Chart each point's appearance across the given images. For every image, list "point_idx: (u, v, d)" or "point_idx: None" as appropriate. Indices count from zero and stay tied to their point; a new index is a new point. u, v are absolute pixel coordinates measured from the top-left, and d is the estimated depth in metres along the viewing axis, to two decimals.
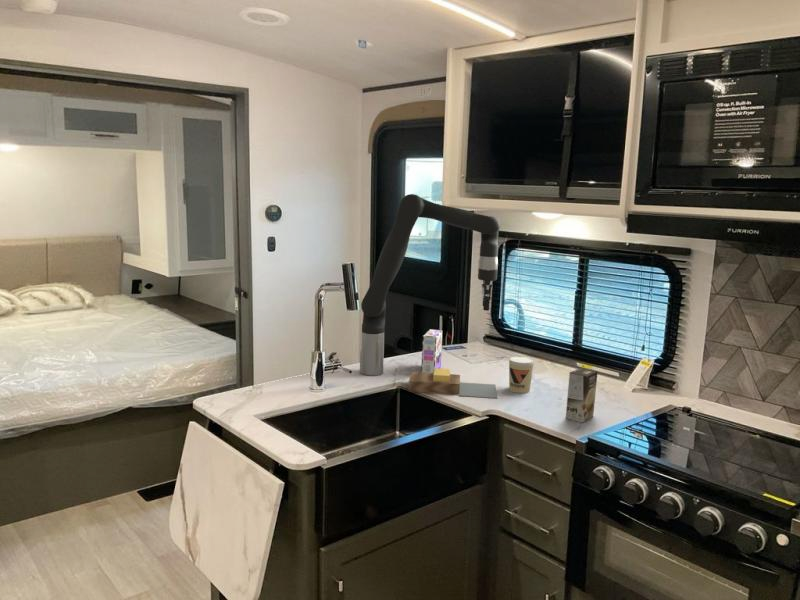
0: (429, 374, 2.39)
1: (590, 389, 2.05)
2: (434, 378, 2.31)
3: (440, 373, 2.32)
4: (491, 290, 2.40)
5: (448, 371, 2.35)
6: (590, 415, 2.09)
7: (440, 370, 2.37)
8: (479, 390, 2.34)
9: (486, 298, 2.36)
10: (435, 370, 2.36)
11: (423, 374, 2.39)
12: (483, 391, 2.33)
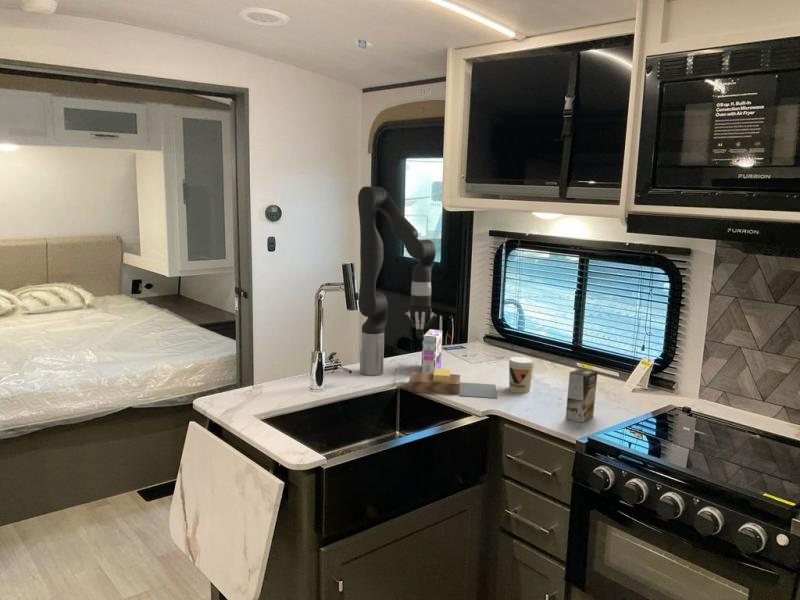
0: (429, 374, 2.39)
1: (590, 389, 2.05)
2: (434, 378, 2.31)
3: (440, 373, 2.32)
4: None
5: (448, 371, 2.35)
6: (590, 415, 2.09)
7: (440, 370, 2.37)
8: (479, 390, 2.34)
9: (427, 326, 2.32)
10: (435, 370, 2.36)
11: (423, 374, 2.39)
12: (483, 391, 2.33)
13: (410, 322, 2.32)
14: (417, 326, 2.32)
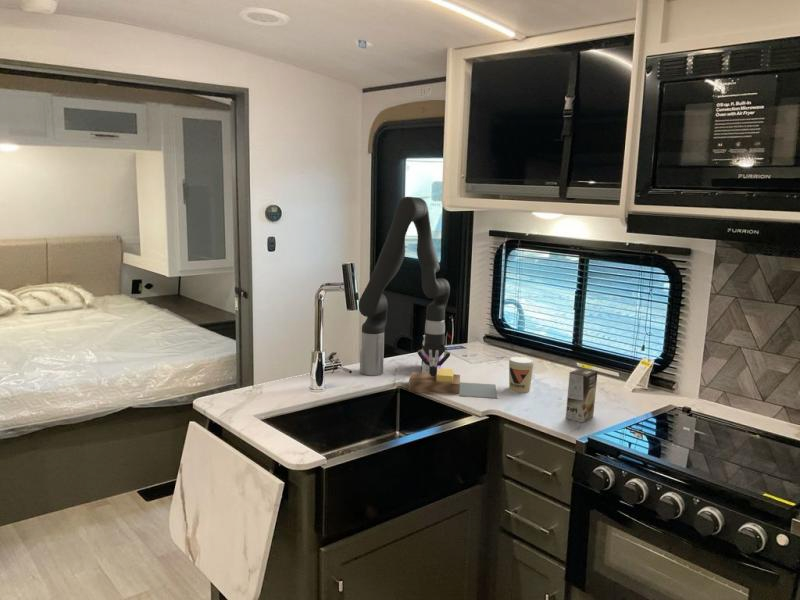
0: (429, 374, 2.39)
1: (590, 389, 2.05)
2: (438, 378, 2.31)
3: (443, 374, 2.32)
4: None
5: (451, 371, 2.35)
6: (590, 415, 2.09)
7: (444, 370, 2.36)
8: (479, 390, 2.34)
9: None
10: (439, 370, 2.36)
11: (423, 374, 2.39)
12: (483, 391, 2.33)
13: (424, 360, 2.33)
14: (431, 364, 2.33)
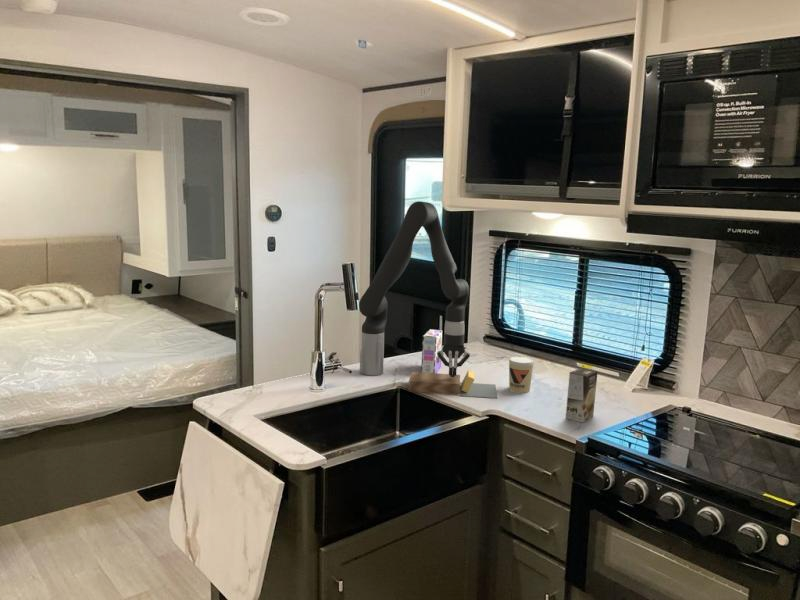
0: (429, 374, 2.39)
1: (590, 389, 2.05)
2: (470, 379, 2.29)
3: None
4: None
5: None
6: (590, 415, 2.09)
7: None
8: (479, 390, 2.34)
9: None
10: (473, 375, 2.35)
11: (423, 374, 2.39)
12: (483, 391, 2.33)
13: (443, 361, 2.33)
14: (450, 365, 2.33)
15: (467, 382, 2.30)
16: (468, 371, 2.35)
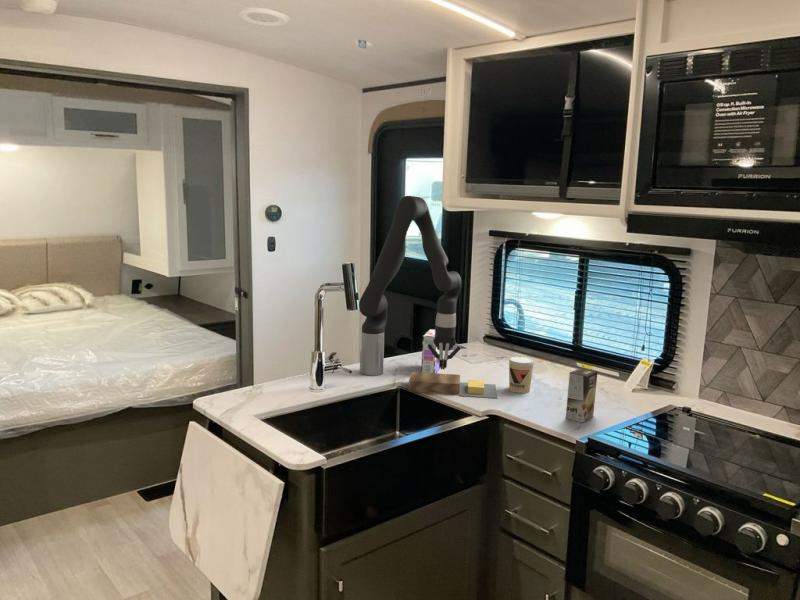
0: (429, 374, 2.39)
1: (590, 389, 2.05)
2: (482, 390, 2.30)
3: None
4: None
5: None
6: (590, 415, 2.09)
7: None
8: None
9: None
10: None
11: (423, 374, 2.39)
12: None
13: (434, 353, 2.33)
14: (441, 357, 2.33)
15: (477, 389, 2.30)
16: (483, 382, 2.36)
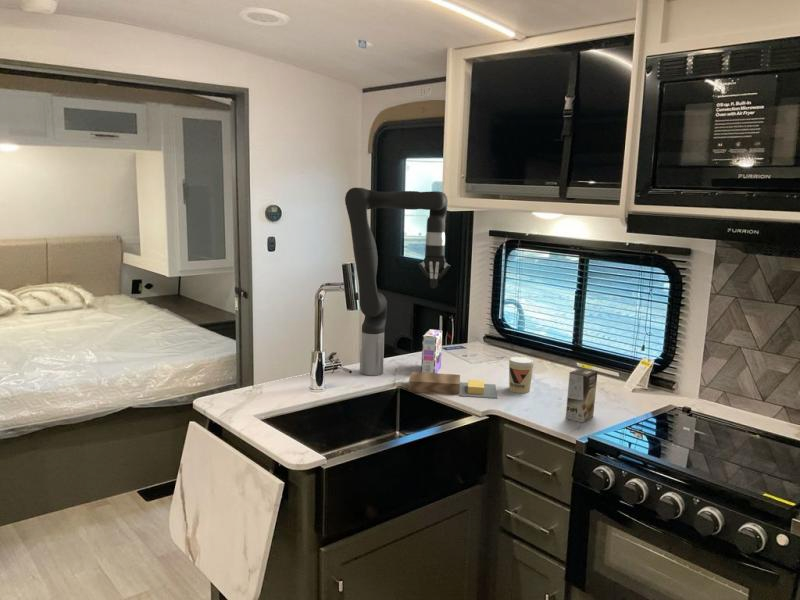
0: (429, 374, 2.39)
1: (590, 389, 2.05)
2: (482, 390, 2.30)
3: None
4: None
5: None
6: (590, 415, 2.09)
7: None
8: None
9: (441, 276, 2.39)
10: None
11: (423, 374, 2.39)
12: None
13: (424, 272, 2.39)
14: (431, 276, 2.39)
15: (477, 389, 2.30)
16: (483, 382, 2.36)
